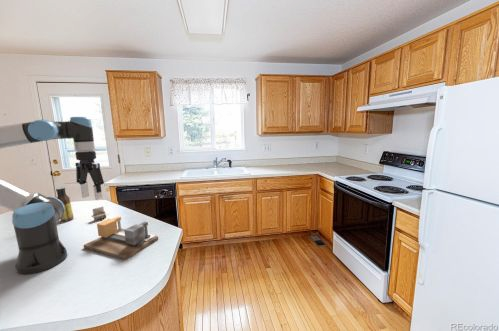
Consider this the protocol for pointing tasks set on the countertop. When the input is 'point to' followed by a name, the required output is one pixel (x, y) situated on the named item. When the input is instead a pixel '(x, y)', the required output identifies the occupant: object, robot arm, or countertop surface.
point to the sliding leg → (108, 227)
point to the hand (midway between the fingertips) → (92, 197)
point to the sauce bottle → (65, 204)
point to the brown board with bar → (123, 242)
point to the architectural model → (98, 213)
